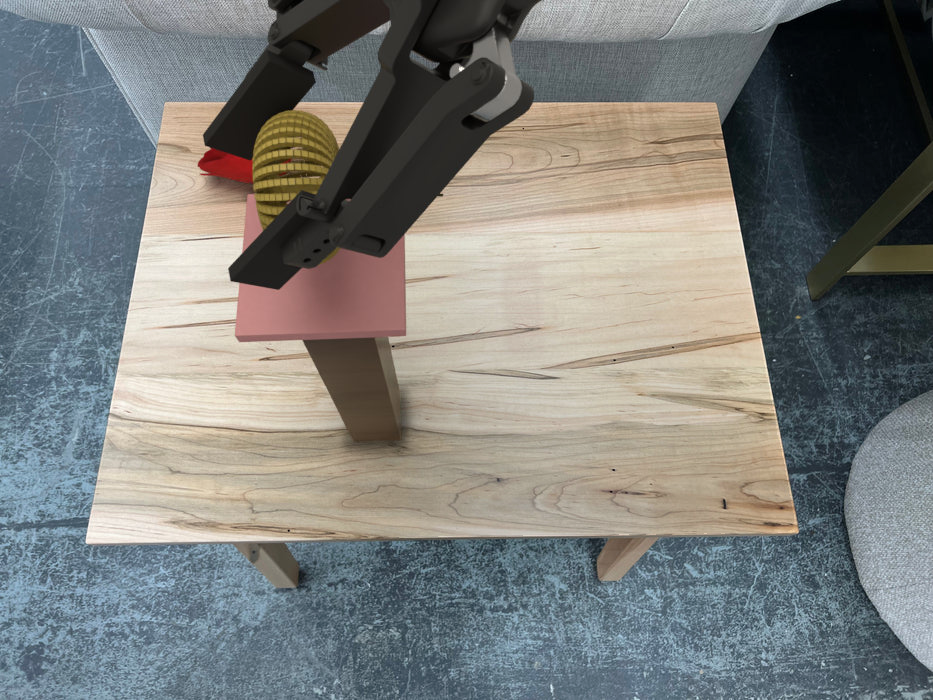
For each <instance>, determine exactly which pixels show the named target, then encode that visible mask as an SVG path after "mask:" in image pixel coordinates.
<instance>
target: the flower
mask: <svg viewBox="0 0 933 700" xmlns="http://www.w3.org/2000/svg"><path fill="white" fill-rule="evenodd" d="M292 161H293V159H290V160H289V159H288V161H286V162H285V161H284V162H283V164H285V163H288V162H289V163H290V162H292ZM197 167H198V168H199V169H200V170H201V171H203V172H204V173H199V176H200V175H201V176H204V177H206V176H208V177H220V178H224V179H229V180H232V181H236V182H240V183H247V184H254V183H253V158H252V160H251V161H250V160H247V159H244V158H241V157H238V156H235V155H232V154H229V153H226V152H223V151H219V150H216V149H213V148H210V147H209V149H208V150H207V151H205V152H204V153H203V156H202V157H201V158H200V159H199V160H198V162H197ZM289 173H290V174H291V173H294V172H289ZM296 173H297V172H296ZM284 174H288V172H287V171H286V172H284V173H281V175H282V176H283V175H284ZM300 174H301V173H300ZM281 175H280V176H281ZM437 197H444V193H440V194H439V195H438V196H437Z"/></svg>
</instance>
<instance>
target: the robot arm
mask: <svg viewBox="0 0 933 700" xmlns="http://www.w3.org/2000/svg"><path fill="white" fill-rule="evenodd" d="M540 2H543V0H267V6H268V8H269V9H271V10H272V11H274V12H275V15H276V16H275V17H276V19H275V20H274V21H273V22H272V23H271V24H270V26H269V29H268V32H267V43H268V44H267V46H266V47H265V48H264V50H263V51H262V53H261V54H260V55H259V56H258V58H257V59H256V61H255V62H254V63H253V64H252V66H251V67H250V68H249V70H248V71H247V72H246V74H245V76H244V78H243V80H242V81H241V83H239V85H238V87H237V88H236V90H235V91H234V92H233V94H232V95H231V96H230V97H229V99H228V100H227V102H226V103H225V104H224V106H223V107H222V108H221V109H220V110H219V113H217V115H216V116H215V118H214V119H213V120H212V121H211V123H210V124H209V126H208V127H207V129H206V130H205V131H204V132H203V134H202V139H203V143H204V146H205V147H208V148H209V149H210V148H213V149H216V150H219V151H223V152H226V153H229V154H232V155H235V156H238V157H241V158H244V159H247V160H250V161H251V160H252V158H253V151H254V148H255V147H254V146H255V142H256V139H257V136H258V134H259V132H260V130H261V128H262V127H263V126H264V125H265V123H266V122H267V121H268V120H269V119H271V117H273V116H275V115H277V114H278V113H279V114H280V113H281V112H285V111H291V110H293V111H294V110H295V109H296V107H297V106H298V105H299V103H300V102H301V101H302V100H303V99H304V97H305V96H307V94H308V93H309V91H310V90H311V89H312V88H313V87H314V85H315V84H316V83H317V81H316V77H315V73H314V71H313V70H312V69H309V68H307V67H305V66H304V65H305V64H306V63H308V64H309V65H312V66H314V67H316V68H318V69H319V70H322V71H324V72H326V71H328V70H329V69H328V67H326V66H328V64H329V57H330V56H332V55H334V54H335V53H337V52H339V51H341V50H342V49H344V48H346V47H348V46H349V45H351V44H353V43H354V42H356V41H358V40H359V39H361V38H363V37H365V36H367V35H368V34H370V33H372V32H373V31H375V30H376V29H378V28H380V27H382V26H383V25H385V24H387V23H388V22H390V26H389V28H388V30H387V32H386V33H385V36H384V37H383V40H382V41H381V44H380V46H379V47H378V51H377V60H378V62H379V65H380V69H379V71H378V73H377V75H376V78H375V79H374V82H373V84H372V85H371V87H370V89H369V91H368V93H367V94H366V97H365V98H364V100H363V103H362V104H361V106H360V109H359V110H358V112H357V114H356V116H355V118H354V120H353V122H352V124H351V125H350V128H349V130H348V132H347V134H346V135H345V138H344V140H343V141H342V144H341V145H340V146H339V151H338V153H337V155H336V157H335V159H334V161H333V163H332V165H331V167H330V168H329V170H328V172H327V174H326V176H325V178H324V180H323V182H322V184H321V186H320V188H319V190H318V192H317V194H312V193H309V192H306V191H303V190H301V191H300V192H299V193H298V194H297V195H296V196H295V198H294V199H293V200H292V201H291V202H290V203H289V204H288V205H287V206H286V207H285V208H284V209H283V210H282V211H281V212H280V214H279V215H278V216H277V217H276V218H275V219H274V220H273V221H272V222H271V223H270V224H269V225H268V226H267V227H266V228H265V229H264V231H263V232H262V233H261V234H260V235H259V236H258V237H257V238H256V239H255V240H254V241H253V242H252V243H251V244H250V245H249V247H248V248H247V249H246V250H245V251H244V252H243V253H242V252H241V253H240V255H239V256H238V257H237V258H236V259H235V260H234V261H233V262H232V263H231V264H230V266H229V267H228V268H227V270H228V275H229V281H230V282H231V283H238V284H239V283H243V284H248V285H254V286H259V287H265V288H271V289H276V290H279V289H280V288H281V287H282V286H284V285H285V284H286V283H287V282H288V281H289V280H290V279H291V278H292V277H293V276H294V275H295V274H296V273H297V272H298V271H299V270H300V269H301V268H306V269H311V268H314V267H316V266H318V265H319V264H320V263H321V262H322V260H324V259H325V258H326V257H327V255H329V254H330V253H331V252H333V251H334V250H335V249H336V248H337V247H338V248H342V249H346V250H350V251H354V252H358V253H362V254H366V255H370V256H374V257H378V258H382V257H384V256H386V255H387V254H388V253H389V251H390V250H391V249H392V248H393V247H394V246H395V245H396V243H397V242H398V241H399V240H400V239H401V238H402V236H403V235H404V234H405V235H406V233H407V232H408V231H409V230H410V228H411V227H413V225H414V224H415V223H416V222H417V220H418V219H419V218H420V217H421V216H422V215H423V213H424V212H426V210H427V209H428V208H429V207H430V205H432V203H433V202H434V201H435V200H436V198H438V197H439V196H438V195H439V194H442V192H443V191H444V189H445V188H446V187H448V185H449V184H450V183H451V181H452V180H453V179H454V178H455V177H456V176H457V175H458V174H459V172H460V171H461V170H462V169H463V168H464V166H466V165H467V163H468V162H469V161H470V160H471V158H472V157H473V156H474V155H475V154H476V153H477V151H478V150H479V149H481V147H482V146H483V145H484V143H485V142H486V141H487V140H488V139H489V138H490V136H492V135H494V134H495V133H497V132H499V131H500V130H501V129H503V128H505V127H506V126H508V125H510V124H511V123H512V122H515V120H517V119H519V118H520V117H522V116H523V115H525V114H526V113H527V112H528V111H529V110H530V108H532V106H533V104H534V99H535V91H534V89H533V86H532V85H530V84H529V83H527V82H526V81H524V80H523V79H521V78H519V77H518V76H517V71H516V67H515V62H514V57H513V51H512V48H511V43H512V42H513V41H514V40H515V39H516V37H517V36H518V33H519V32H520V29H521V27H522V26H523V23H524V22H525V20H526V18H527V17H528V15H529V13H530V12H531V11H532V9H533V8H534V7H536V5H537V4H538V3H540ZM412 52H413V53H415V54H417V55H418V56H420V57H422V58H423V59H425V60H427V61H429V62H431V63H435V64H438V65H437V66H436V67H434V68H430V67H428V66H426V65H425V64H422V63H421V62H419V61H418V60H416V59H414V58H412V57H411V53H412ZM346 199H351V200H350V201H348V200H346Z"/></svg>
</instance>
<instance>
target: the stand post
mask: <svg viewBox="0 0 933 700" xmlns="http://www.w3.org/2000/svg"><path fill="white" fill-rule="evenodd" d="M301 341H302V343H303V344H304V346H305V349H306V350H307V352H308V354H309V356H310V358H311V361H312V362H313V365H314V367H315V368H316V370H317V372H318V375H319V376H320V379H321V381H322V382H323V384H324V387H325V389H326V390H327V392H328V394H329V396H330V397H331V400H332V403H333V404H334V406H335V408H336V410H337V412H338V414H339V417H340V418H341V420H342V422H343V424H344V426H345V428H346V430H347V432H348V434H349V436H350V438H351V440H352V442H353V443H358V442H381V441H401V440H402V395H401V390H400V385H399V380H398V375H397V372H396V367H395V363H394V358H393V357H394V356H393V353H392V348H391V344H390V337H371V338H344V339H316V340H301Z"/></svg>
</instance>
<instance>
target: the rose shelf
mask: <svg viewBox="0 0 933 700" xmlns="http://www.w3.org/2000/svg"><path fill="white" fill-rule="evenodd" d="M347 200H348V201H350V200H351V199H347ZM256 201H257V200H255V196H254V193H247V196H246V207H245V219H244V228H243V239H242V251H241V254H242V253H243V252H244V251H245V250H246V249H247V248H248V247H249V245H250V244H251V243H252V242H253V241H254V240H255V239H256V238H257V237H258V236H259V235H260V234H261V233H262V232H263V230H262V227H261V223H260V220H259V216H258V212H257V208H256ZM290 202H291V201H289V202H287V204H289V203H290ZM406 293H407V292H406V233H405V234H404V235H403V236H402V238H401V239H400V240H399V241H398V242H397V243H396V245H395V246H394V247H393V248H392V249H391V250H390V251H389V253H388V254H387V255H386V256H384V257H382V258H378V257H374V256H370V255H366V254H362V253H358V252H354V251H350V250H346V249H342V248H340V250H339V251H338V252H337V254H336V255H335V256H334V257H333V258H332V259H331V260H328V261H327V262H325V263H323V264H320V265H318V266H316V267H314V268H311V269H306V268H301V269H300V270H299V271H298V272H297V273H296V274H295V275H294V276H293V277H292V278H291V279H290V280H289V281H288V282H287V283H286V284H285V285H284V286H282V287H281V288H280V289H279V290H276V289H271V288H265V287H259V286H254V285H248V284H243V283H238V295H237V305H236V314H235V315H236V317H235V328H234V337H235V339H236V340H237V341H238V343H256V342H257V343H258V342H259V343H261V342H285V341H302V340H316V339H344V338H371V337H388V338H394V337H396V338H397V337H398V338H399V337H407V296H406V295H407V294H406Z"/></svg>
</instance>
